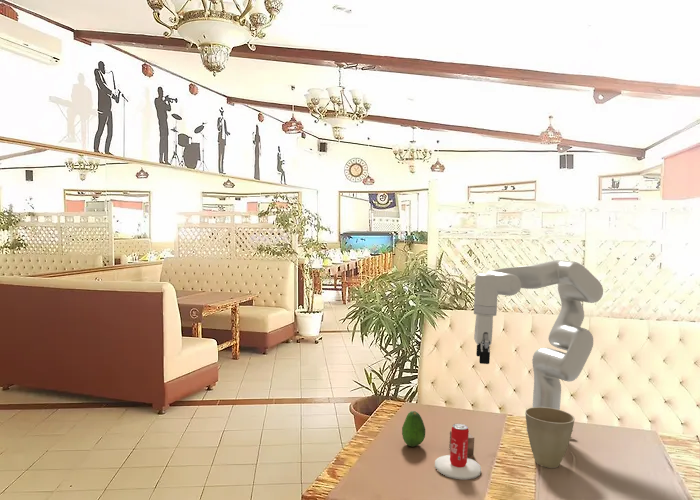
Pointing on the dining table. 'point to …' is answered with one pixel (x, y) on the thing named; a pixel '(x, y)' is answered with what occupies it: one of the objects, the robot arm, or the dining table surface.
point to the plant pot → (548, 434)
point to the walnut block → (470, 444)
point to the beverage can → (459, 445)
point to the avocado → (413, 429)
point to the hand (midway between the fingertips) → (482, 359)
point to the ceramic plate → (457, 468)
